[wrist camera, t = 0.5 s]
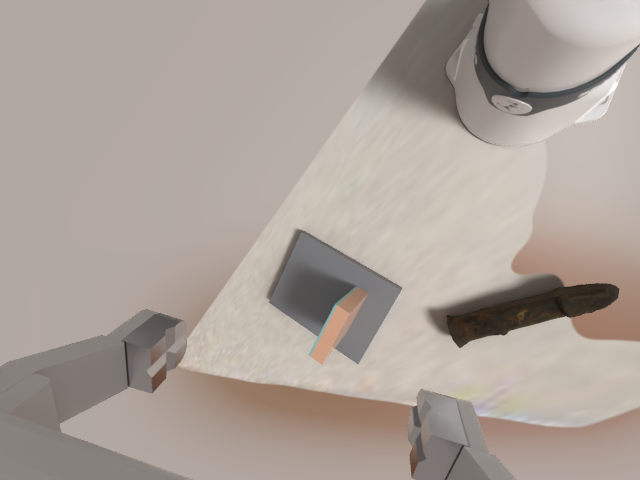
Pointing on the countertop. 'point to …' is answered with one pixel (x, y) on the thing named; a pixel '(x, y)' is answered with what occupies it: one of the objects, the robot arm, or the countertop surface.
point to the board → (332, 292)
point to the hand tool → (531, 311)
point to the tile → (337, 324)
